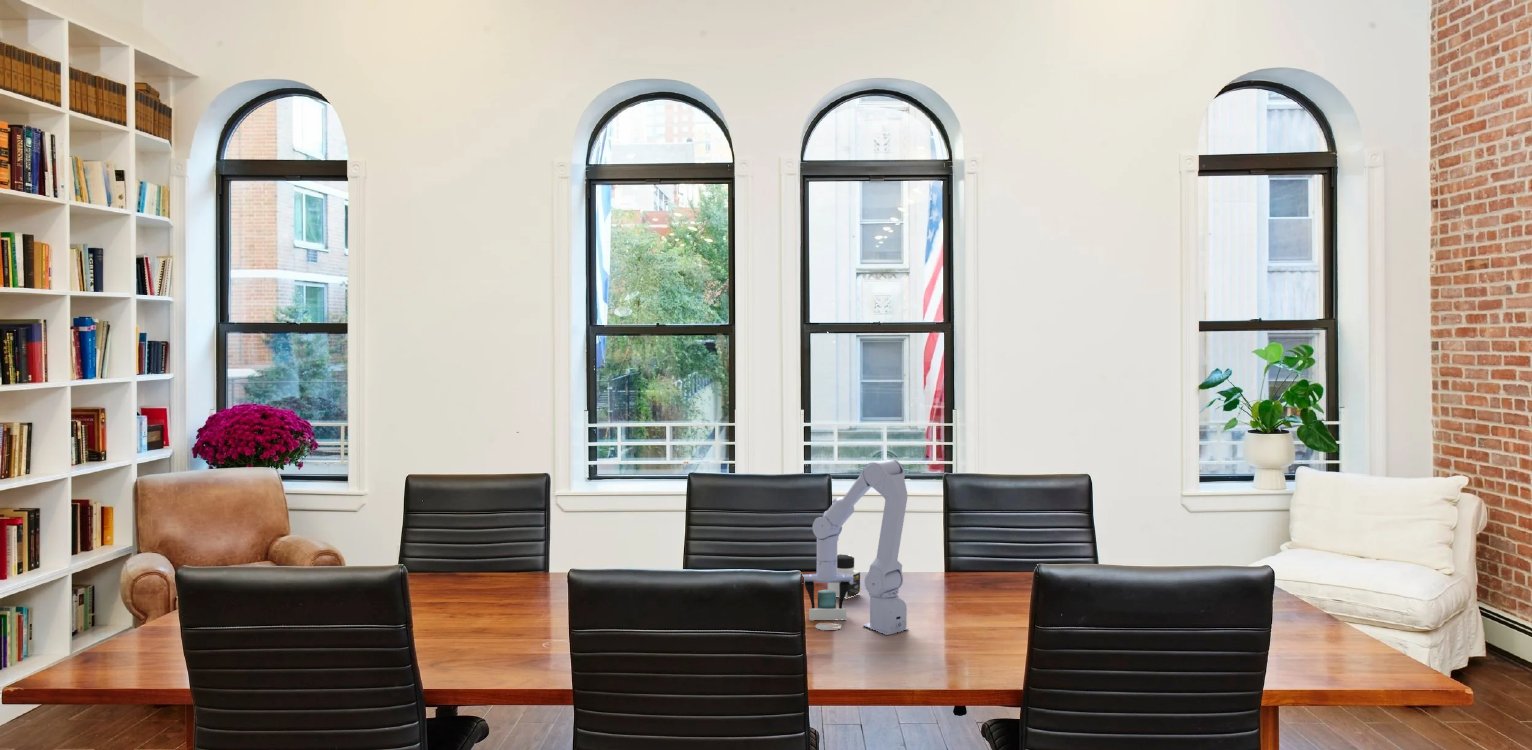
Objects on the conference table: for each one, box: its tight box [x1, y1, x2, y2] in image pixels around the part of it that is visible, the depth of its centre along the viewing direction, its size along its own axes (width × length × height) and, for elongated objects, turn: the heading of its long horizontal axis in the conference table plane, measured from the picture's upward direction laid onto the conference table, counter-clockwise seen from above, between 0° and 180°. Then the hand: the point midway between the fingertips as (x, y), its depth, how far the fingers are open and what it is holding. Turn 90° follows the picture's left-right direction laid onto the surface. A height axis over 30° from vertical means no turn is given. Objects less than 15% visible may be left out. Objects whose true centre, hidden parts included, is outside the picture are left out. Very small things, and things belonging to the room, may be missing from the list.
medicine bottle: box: [827, 553, 861, 598], centre depth 270 cm, size 7×7×12 cm
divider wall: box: [808, 607, 847, 621], centre depth 246 cm, size 10×1×3 cm, turn 89°
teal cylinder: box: [817, 589, 837, 609], centre depth 252 cm, size 5×5×6 cm
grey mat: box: [815, 622, 843, 631], centre depth 240 cm, size 7×7×1 cm
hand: (826, 608), depth 252 cm, fingers open, 7 cm apart
